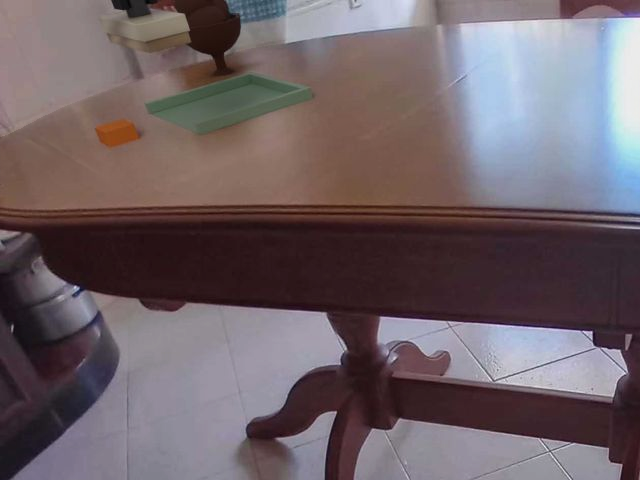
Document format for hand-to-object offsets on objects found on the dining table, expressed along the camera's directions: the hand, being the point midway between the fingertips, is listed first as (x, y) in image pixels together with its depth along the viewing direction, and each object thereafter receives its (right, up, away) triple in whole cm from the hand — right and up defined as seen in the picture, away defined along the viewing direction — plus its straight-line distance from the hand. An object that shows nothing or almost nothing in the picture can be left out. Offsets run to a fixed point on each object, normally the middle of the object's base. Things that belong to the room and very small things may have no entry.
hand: (136, 5), depth 80 cm
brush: (0, -3, +2) cm, 4 cm away
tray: (+2, -4, +25) cm, 26 cm away
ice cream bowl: (-6, +8, +42) cm, 44 cm away
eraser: (-10, -11, +17) cm, 23 cm away
